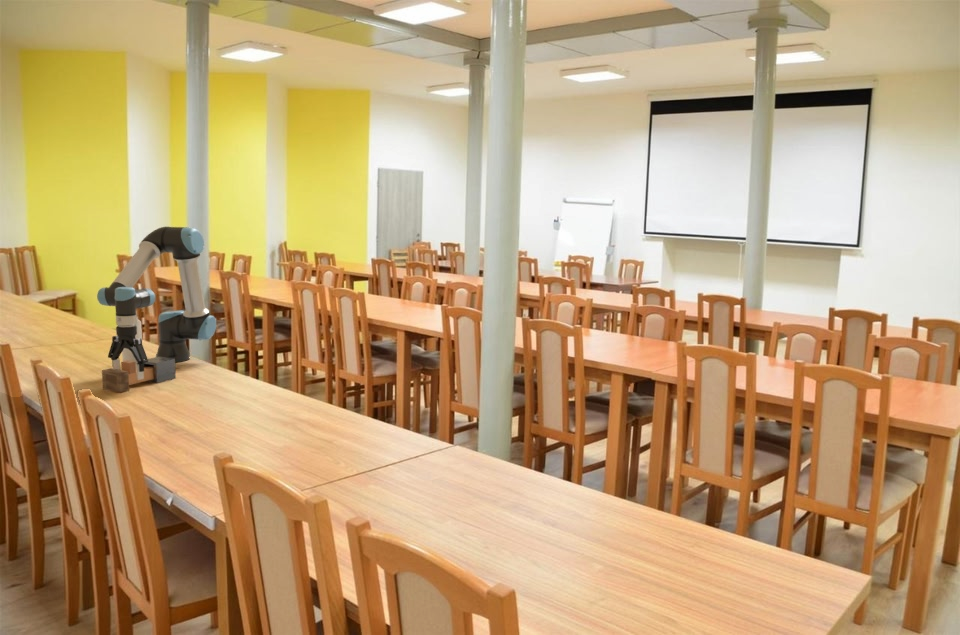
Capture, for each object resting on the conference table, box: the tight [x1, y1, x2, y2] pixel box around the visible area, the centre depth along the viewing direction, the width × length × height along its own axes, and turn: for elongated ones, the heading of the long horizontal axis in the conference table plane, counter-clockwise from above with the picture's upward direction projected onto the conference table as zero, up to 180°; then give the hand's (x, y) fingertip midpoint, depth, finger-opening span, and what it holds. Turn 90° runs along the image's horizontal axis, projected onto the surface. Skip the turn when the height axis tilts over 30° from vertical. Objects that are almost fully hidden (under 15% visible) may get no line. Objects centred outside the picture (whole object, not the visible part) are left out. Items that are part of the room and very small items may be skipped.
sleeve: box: [144, 356, 177, 384], centre depth 321 cm, size 10×9×9 cm
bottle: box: [121, 310, 143, 369], centre depth 327 cm, size 8×8×28 cm
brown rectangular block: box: [101, 368, 130, 394], centre depth 302 cm, size 4×10×8 cm, turn 66°
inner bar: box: [120, 360, 154, 386], centre depth 309 cm, size 20×4×9 cm, turn 156°
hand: (128, 377), depth 307 cm, fingers open, 12 cm apart
